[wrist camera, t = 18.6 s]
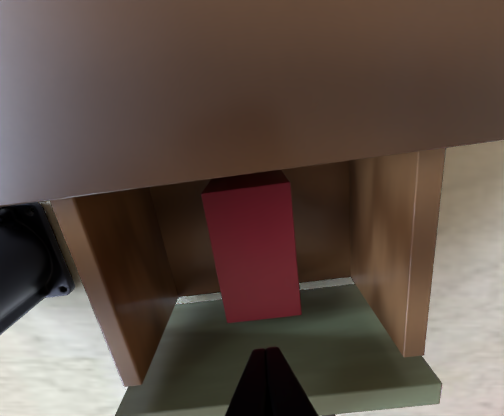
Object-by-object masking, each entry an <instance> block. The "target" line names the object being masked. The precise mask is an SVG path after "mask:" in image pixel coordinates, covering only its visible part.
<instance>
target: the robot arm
mask: <svg viewBox="0 0 504 416" xmlns="http://www.w3.org/2000/svg"><path fill="white" fill-rule="evenodd" d="M31 208H32V209H33V210H34V212H32V211H31ZM64 286H65V287H66V288H65V287H64ZM74 288H75V285H74V282H73V280H72V278H71V275H70V273H69V270H68V268H67V265H66V263H65V261H64V258H63V256H62V253H61V251H60V248H59V246H58V244H57V241H56V239H55V236H54V234H53V231H52V229H51V227H50V224H49V222H48V219H47V217H46V215H45V212H44V210H43V208H42V206H41V205H40V204H39V203H37V202H34V203H26V204H19V205H11V206H4V207H0V335H1V334H2V333H3V332H5V331H6V330H7V329H8V328H9V327H10V326H12V325H13V324H14V323H15V322H16V321H18V320H19V319H20V318H21V317H22V316H24V315H25V314H26V313H27V312H28V311H29V310H31V309H32V308H33V307H34V306H35V305H37V304H38V303H39V302H40V301H41V300H43V299H44V298H47V297H55V296H64V295H68V294H69V293H70V292H72V291H73V290H74ZM225 416H319V415H318V414H317V412H316V410H315V408H314V407H313V405H312V403H311V402H310V400H309V398H308V396H307V395H306V393H305V391H304V390H303V388H302V386H301V384H300V383H299V381H298V379H297V378H296V376H295V374H294V372H293V371H292V369H291V367H290V365H289V364H288V362H287V360H286V359H285V357H284V355H283V353H282V352H281V350H280V348H279V347H277V346H275V347H268V348H266V350H265V348H259V349H253V350H252V352H251V354H250V357H249V359H248V361H247V364H246V366H245V369H244V371H243V373H242V376H241V378H240V380H239V383H238V385H237V388H236V390H235V392H234V395H233V397H232V399H231V402H230V404H229V407H228V409H227V411H226V414H225Z"/></svg>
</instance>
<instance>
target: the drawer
mask: <svg viewBox="0 0 504 416" xmlns="http://www.w3.org/2000/svg"><path fill="white" fill-rule="evenodd" d="M445 150H446V148H440V149H432V150H425V151H417V152H410V153H402V154H395V155H387V156H380V157H372V158H365V159H357V160H350V161H342V162H335V163H327V164H320V165H312V166H304V167H297V168H289V169H282V171H283V173H284V174H285V176H286V177H287V179H288V180H289V181H290V184H291V196H292V207H293V219H294V230H295V242H296V253H297V265H298V277H299V283H302V282H310V281H319V280H327V279H336V278H344V277H351V278H352V280H353V281H354V283H355V284H349V285H341V286H332V287H324V288H315V289H307V290H300V300H301V311H302V314H301V315H297V316H288V317H279V318H270V319H261V320H253V321H244V322H235V323H227V320H226V316H225V311H224V306H223V301H222V299H221V300H212V301H204V302H195V303H187V304H178V305H175V304H176V302H177V299H178V297H183V296H191V295H200V294H208V293H217V292H221V291H220V286H219V281H218V276H217V271H216V266H215V261H214V256H213V251H212V246H211V241H210V237H209V232H208V227H207V222H206V217H205V212H204V207H203V202H202V197H201V193H202V192H203V190H204V189H205V188H206V186H207V185H208V183H209V182H210V180H211V179H207V180H199V181H192V182H184V183H177V184H169V185H162V186H154V187H146V188H139V189H131V190H124V191H116V192H109V193H101V194H94V195H86V196H79V197H71V198H64V199H56V200H49V201H50V203H51V206H52V208H53V211H54V213H55V216H56V218H57V221H58V223H59V226H60V228H61V231H62V233H63V236H64V238H65V241H66V243H67V246H68V248H69V251H70V253H71V256H72V258H73V261H74V263H75V266H76V268H77V271H78V273H79V276H80V278H81V281H82V283H83V286H84V288H85V291H86V293H87V296H88V298H89V301H90V303H91V306H92V308H93V311H94V313H95V316H96V318H97V321H98V323H99V326H100V328H101V331H102V333H103V336H104V338H105V341H106V343H107V346H108V348H109V351H110V353H111V356H112V358H113V361H114V363H115V366H116V368H117V371H118V373H119V376H120V379H121V381H122V384H123V386H125V387H127V386H128V389H127V391H126V393H125V395H124V397H123V399H122V401H121V404H120V406H119V408H118V410H117V412H116V414H115V416H225V414H226V411H227V409H228V407H229V404H230V402H231V399H232V397H233V395H234V392H235V390H236V388H237V385H238V383H239V380H240V378H241V376H242V373H243V371H244V369H245V366H246V364H247V361H248V359H249V357H250V354H251V352H252V350H253V349H259V348H265V350H266V348H268V347H275V346H277V347H279V348H280V350H281V352H282V353H283V355H284V357H285V359H286V360H287V362H288V364H289V365H290V367H291V369H292V371H293V372H294V374H295V376H296V378H297V379H298V381H299V383H300V384H301V386H302V388H303V390H304V391H305V393H306V395H307V396H308V398H309V400H310V402H311V403H312V405H313V407H314V408H315V410H316V412H317V414H318V415H319V416H335V414H342V413H352V412H362V411H372V410H382V409H392V408H402V407H412V406H422V405H432V404H439V402H440V395H441V388H442V383H441V381H440V380H439V378H438V377H437V376H436V374H435V373H434V372H433V370H432V369H431V368H430V366H429V365H428V364H427V362H426V361H425V360H424V358H423V357H422V356H423V355H424V350H425V340H426V331H427V321H428V312H429V302H430V293H431V283H432V274H433V264H434V255H435V245H436V236H437V226H438V217H439V207H440V198H441V188H442V179H443V169H444V160H445Z"/></svg>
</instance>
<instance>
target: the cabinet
mask: <svg viewBox="0 0 504 416" xmlns="http://www.w3.org/2000/svg"><path fill="white" fill-rule="evenodd" d="M500 140H504V0H0V207H4V206H11V205H19V204H26V203H34V202H41V201H49V200H56V199H64V198H71V197H79V196H86V195H94V194H101V193H109V192H116V191H124V190H131V189H139V188H146V187H154V186H162V185H169V184H177V183H184V182H192V181H199V180H207V179H214V178H222V177H229V176H237V175H244V174H252V173H259V172H267V171H274V170H282V169H289V168H297V167H304V166H312V165H320V164H327V163H335V162H342V161H350V160H357V159H365V158H372V157H380V156H387V155H395V154H402V153H410V152H417V151H425V150H432V149H440V148H447V147H455V146H462V145H470V144H478V143H485V142H493V141H500Z"/></svg>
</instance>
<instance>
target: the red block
mask: <svg viewBox="0 0 504 416" xmlns="http://www.w3.org/2000/svg"><path fill="white" fill-rule="evenodd" d="M201 197H202V202H203V207H204V212H205V217H206V222H207V227H208V232H209V237H210V241H211V246H212V251H213V256H214V261H215V266H216V271H217V276H218V281H219V286H220V291H221V296H222V301H223V306H224V311H225V316H226V320H227V323H235V322H244V321H253V320H261V319H270V318H279V317H288V316H297V315H301V314H302V311H301V300H300V288H299V277H298V265H297V253H296V242H295V230H294V219H293V207H292V196H291V184H290V181H289V180H288V179H287V177H286V176H285V174H284V173H283V171H282V170H274V171H267V172H259V173H252V174H244V175H237V176H229V177H222V178H214V179H211V180H210V182H209V183H208V185H207V186H206V188H205V189H204V190H203V192H202V193H201Z"/></svg>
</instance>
